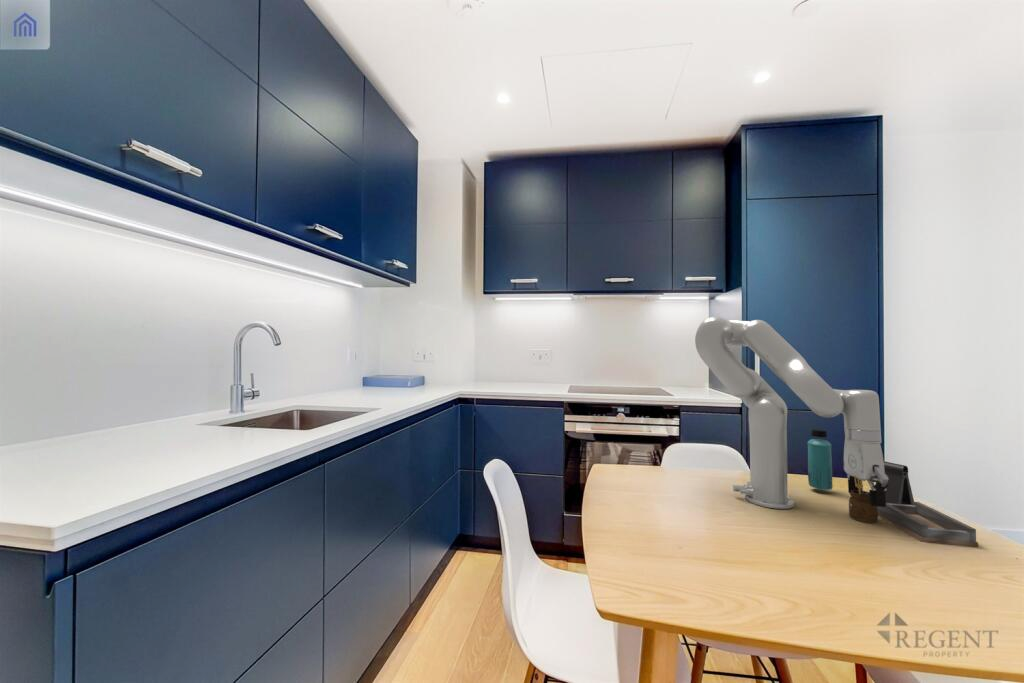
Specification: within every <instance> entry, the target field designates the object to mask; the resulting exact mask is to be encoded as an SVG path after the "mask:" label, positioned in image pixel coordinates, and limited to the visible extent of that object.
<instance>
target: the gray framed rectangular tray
mask: <svg viewBox="0 0 1024 683" xmlns="http://www.w3.org/2000/svg"><path fill="white" fill-rule="evenodd" d="M877 507H878V517H879V518H880V519H883V520H884V521H886V522H888V523H889V524H891V525H893V526H894V527H896V528H898V529H899V530H901V531H903V532H904V533H906V534H908V535H909V536H911V537H913V538H914V539H916V540H917V541H920V542H924V543H925V542H926V543H935V544H947V545H953V546H955V545H956V546H964V547H967V546H968V547H977V548H978V547H979V542H978V541H977V529H976V528H975V527H972V526H970V525H968V524H966V523H964V522H961V521H960V520H957V519H956V518H953V517H951V516H950V515H949V516H948V515H947V514H945V513H944V512H941V511H938V510H937V509H934V508H933V507H930V506H928V505H926V504H924V503H922V502H919V501H914V502H913V505H904V504H892V503H886V506H885V507H879V506H877Z"/></svg>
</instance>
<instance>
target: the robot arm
mask: <svg viewBox="0 0 1024 683" xmlns="http://www.w3.org/2000/svg"><path fill="white" fill-rule="evenodd" d="M694 342H695V344H694V345H695V349H696V351H697V353H698V355H699V357H700V358H701V360H702V361H703V362H704V364H705V365H706V366H707V367H708V368H709V370H710V371H711V372H712V373H713V375H714V376H715V377H716V378H717V380H719V382H720V383H721V384H722V385H723V387H725V389H726V390H727V391H728V392H729V393H730V394H731V395H732V396H733V397H736V398H738V399H739V400H740V401H742V403H743V404H744V405H745V406H746V407H747V408H748V427H749V430H748V431H749V467H750V468H749V474H750V475H749V477H750V478H749V479H750V480H749V481H747V482H746V484H744V485H740V484H733V485H732V491H733V492H739V493H740V494H743V495H744V498H745V500H746V501H748V502H750V503H752V504H755V505H757V506H761V507H765V508H770V509H779V510H780V509H781V510H787V509H791V508H794V507H795V501H794V500H793V499H792V498H790V497H789V496H788V489H789V488H788V434H787V433H788V430H787V426H788V424H787V423H788V421H787V420H788V406H787V404H786V402H785V401H784V400H783V398H782V397H781V396H780V395H779V394H778V393H777V392H776V391H775V390H774V389H773V388H772V387H771V386H770V384H769V383H767V381H766V380H765V379H764V378H763V377H762V376H761V375H760V374H759V373H758V372H757V371H755V370H754V369H752V368H749V367H747V366H746V365H744V364H743V362H742V361H741V360H740V359H739V358H738V357H737V356H736V355H735V354H734V352H733V351H731V349H730V348H729V347H728V346H727V345H730V346H739V347H749V349H751V351H753V353H754V354H755V355H757V357H758V358H759V359H760V360H761V361H762V362H763V363H764V364H765V365H766V366H767V367H768V368H769V369H770V370H771V372H773V373H774V374H775V376H776V377H778V379H780V380H781V381H783V382H784V383H785V385H787V386H788V387H789V389H790V390H791V391H792V392H793V393H794V394H795V395H796V396H797V397H798V398H799V399H800V400H801V401H802V402H803V403H804V405H806V406H807V407H808V408H809V409H810V410H811V411H812V412H813V413H814V414H816V415H818V416H819V417H822V418H826V419H827V418H834V417H837V416H839V415H840V414H842V415H843V421H844V422H843V425H844V426H843V427H844V429H843V430H844V444H843V446H844V447H843V471H844V472H845V473H846V478H847V488H848V493H849V494H850V492H851V490H859V489H858V487H856V486H855V478H854V476H856V482H857V484H858V480H857V478H858V479H859V483H860V484H861V482H860V480H862V482H867V484H868V483H869V484H868V486H869V489H868V492H869V494H870V505H872V506H879V507H885V506H886V497H885V492H886V488H887V486H888V485H887V483H888V477H887V475H886V474H885V471H884V461H885V460H884V454H883V451H882V446H881V444H882V428H881V413H880V412H881V410H880V397H879V394H878V393H877V392H876V391H874V390H869V389H836V388H832V386H830V385H829V384H828V383H827V382H826V381H825V380H824V379H823V378H822V377H821V376H820V375H819V374H818V373H817V372H816V371H815V369H813V368H812V367H811V366H810V365H809V364H808V362H807V360H806V359H805V358H804V357H803V356H802V355H801V354H800V353H799V352H798V351H797V350H796V349H795V348H794V347H793V346H792V345H791V344H790V343H789V342H787V341H786V339H785V338H784V337H783V336H781V334H779V333H778V332H777V331H776V330H775V329H774V328H773V326H771V325H770V324H769V323H768V322H766V321H764V320H761V319H753V320H750V321H749V320H735V319H725V318H722V317H720V316H711V317H707V318H705V319H703V320H702V321H701V323H700V324H699V326H698V328H697V330H696V333H695V336H694ZM876 482H877V483H876ZM861 489H862V490H861ZM860 490H861V491H863V490H864V486H863V487H862V488H860Z"/></svg>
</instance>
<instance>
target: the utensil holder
mask: <svg viewBox="0 0 1024 683" xmlns="http://www.w3.org/2000/svg"><path fill="white" fill-rule="evenodd" d="M854 478H855V486H856V487H858V489H859V490H851V492H850V493H849V496H850V497H849V498H848V516H849V517H850V518H851V519H853V520H856V521H859V522H863V523H867V524H874V523H877V522H878V520H879V518H878V517H879V516H878V507H877V506H872V505H870V494H869V489H866V490H865V489H863V491H861V490H862V489H861V490H860V488H862V487H863V488H864V484H863V481H862V480H860V482H861V484H860V483H859V479H858V478H857V480H858V484H857V482H856V476H854ZM867 485H869V483H868V482H867Z"/></svg>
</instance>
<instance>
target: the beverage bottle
mask: <svg viewBox="0 0 1024 683" xmlns="http://www.w3.org/2000/svg"><path fill="white" fill-rule="evenodd" d="M810 432H811V433H810V436H811V437H815V438H811V439H809V440H808V441H807V469H808V470H807V481H808V486H810V487H811V488H813V489H818V490H822V491H823V490H825V491H830V490H832V489H833V487H834V486H833V485H834V484H833V475H834V474H833V461H832V460H833V459H832V444H831V443H830V442H829V441H828V440H825V439H820V438H827V437H828V435H827V430H825V429H819V428H812V429H811V431H810ZM816 437H817V438H816Z"/></svg>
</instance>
